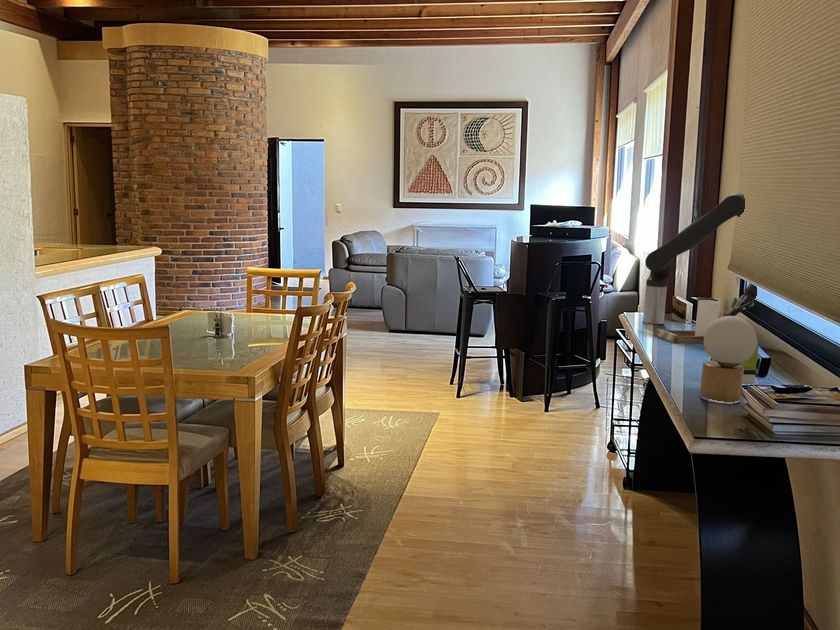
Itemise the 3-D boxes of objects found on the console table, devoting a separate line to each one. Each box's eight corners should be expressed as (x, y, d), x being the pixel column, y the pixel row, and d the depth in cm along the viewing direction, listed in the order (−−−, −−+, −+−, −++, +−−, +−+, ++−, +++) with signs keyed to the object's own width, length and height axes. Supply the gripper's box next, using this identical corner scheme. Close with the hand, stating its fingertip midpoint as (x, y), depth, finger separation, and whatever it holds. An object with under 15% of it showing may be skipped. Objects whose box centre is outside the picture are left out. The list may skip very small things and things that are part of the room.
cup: (712, 338, 333) (716, 300, 331) (717, 341, 325) (721, 303, 323) (692, 337, 334) (696, 299, 332) (697, 340, 326) (701, 302, 323)
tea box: (707, 374, 265) (711, 330, 262) (737, 375, 264) (742, 331, 262) (723, 385, 250) (727, 339, 247) (755, 386, 249) (760, 340, 247)
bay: (656, 335, 334) (657, 328, 333) (708, 336, 338) (709, 329, 338) (673, 342, 319) (674, 335, 319) (728, 342, 324) (729, 335, 323)
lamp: (759, 409, 222) (769, 321, 219) (710, 408, 221) (719, 319, 217) (734, 394, 237) (742, 312, 233) (688, 394, 236) (696, 311, 232)
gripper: (744, 280, 336) (715, 308, 335) (763, 283, 323) (733, 313, 323) (754, 292, 338) (725, 320, 337) (773, 296, 325) (743, 326, 324)
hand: (729, 317), depth 330 cm, fingers closed
